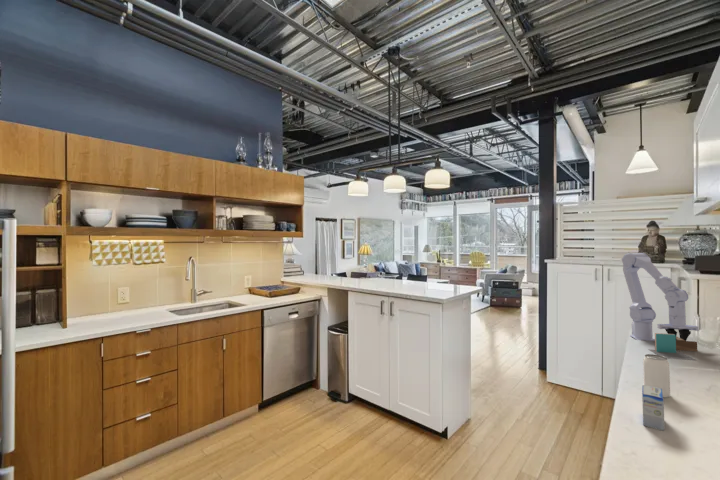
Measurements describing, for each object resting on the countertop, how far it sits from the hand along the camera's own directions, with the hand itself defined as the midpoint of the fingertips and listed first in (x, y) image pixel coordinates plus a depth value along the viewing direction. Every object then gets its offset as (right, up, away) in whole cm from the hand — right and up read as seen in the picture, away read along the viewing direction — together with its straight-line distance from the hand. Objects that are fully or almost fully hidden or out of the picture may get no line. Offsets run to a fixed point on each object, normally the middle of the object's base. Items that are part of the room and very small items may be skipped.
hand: (678, 345), depth 159 cm
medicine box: (-67, -2, -65) cm, 93 cm away
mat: (-13, -1, -10) cm, 16 cm away
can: (-51, -2, -47) cm, 69 cm away
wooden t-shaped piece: (+1, -1, +2) cm, 2 cm away
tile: (-12, -1, -7) cm, 13 cm away
